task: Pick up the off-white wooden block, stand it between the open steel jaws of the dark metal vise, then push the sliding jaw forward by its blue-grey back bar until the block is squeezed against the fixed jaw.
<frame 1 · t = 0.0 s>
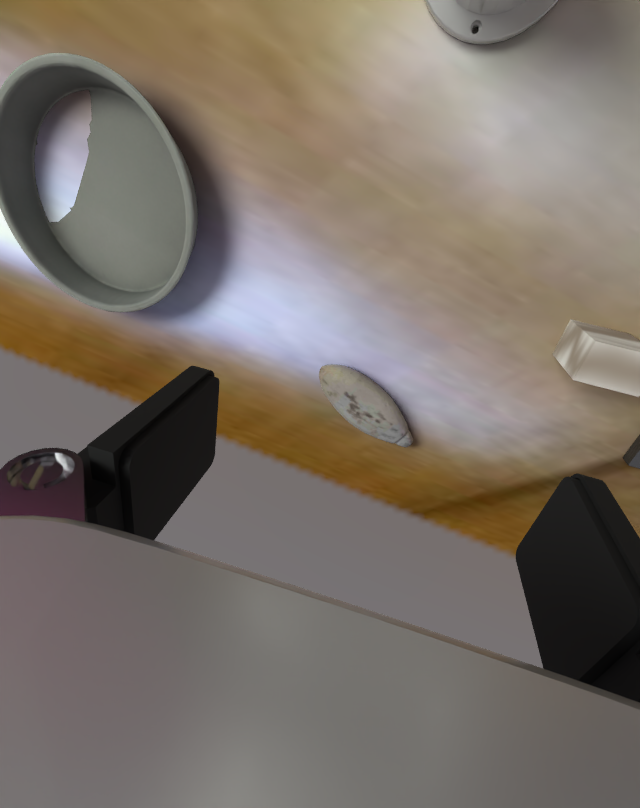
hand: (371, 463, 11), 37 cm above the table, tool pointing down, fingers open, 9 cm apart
decorative stone: (367, 400, 52), on the table
cake pan: (116, 199, 47), on the table
block: (589, 344, 42), on the table
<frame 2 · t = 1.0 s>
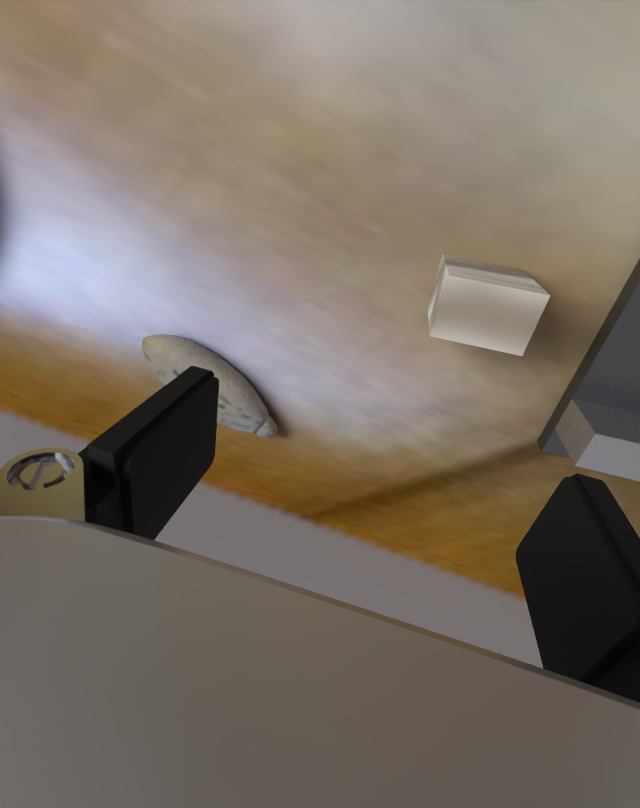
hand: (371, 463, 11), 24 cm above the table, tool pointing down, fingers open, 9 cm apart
decorative stone: (219, 380, 40), on the table
block: (473, 288, 31), on the table
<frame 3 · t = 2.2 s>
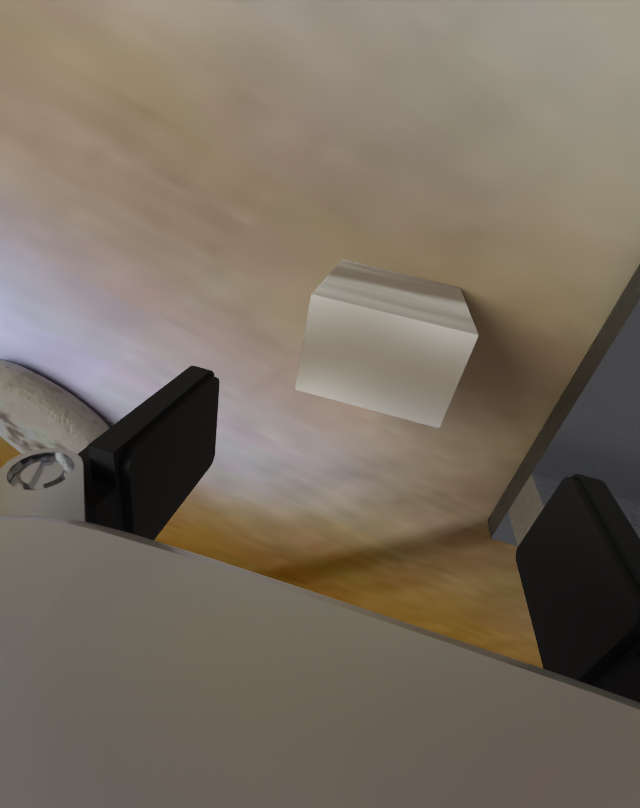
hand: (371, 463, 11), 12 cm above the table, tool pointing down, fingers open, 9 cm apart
decorative stone: (73, 417, 30), on the table
block: (389, 311, 21), on the table
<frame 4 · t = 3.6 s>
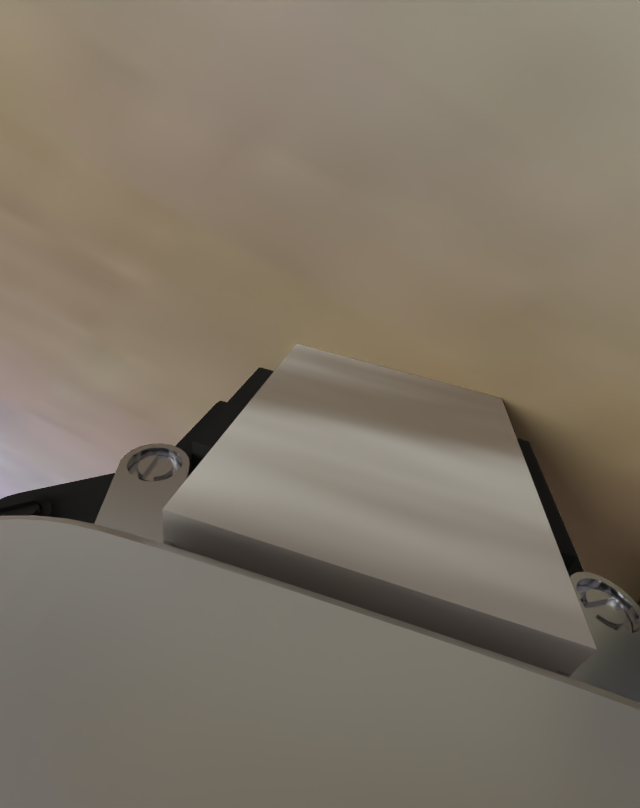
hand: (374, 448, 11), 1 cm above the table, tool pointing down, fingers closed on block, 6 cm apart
block: (378, 427, 12), on the table, touching gripper
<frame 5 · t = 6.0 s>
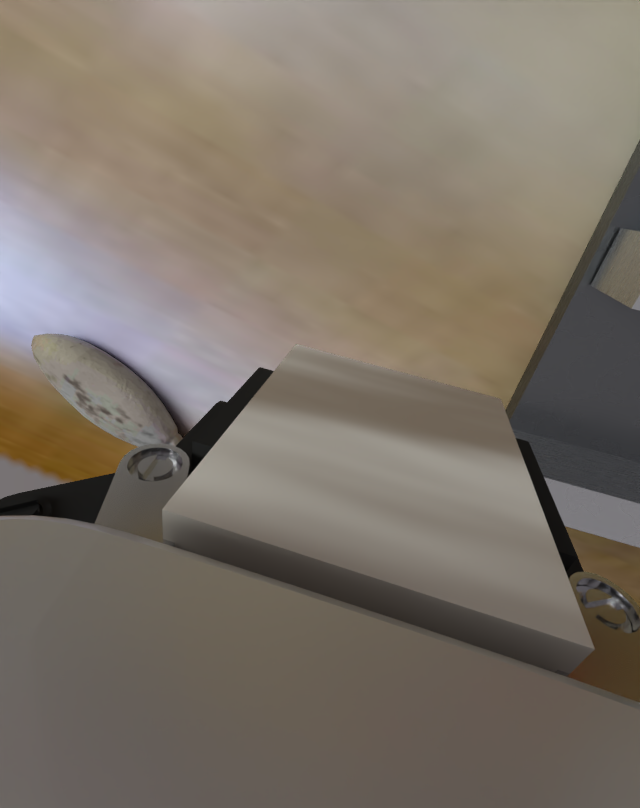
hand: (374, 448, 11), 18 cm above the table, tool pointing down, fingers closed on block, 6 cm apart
decorative stone: (126, 389, 36), on the table
block: (377, 427, 12), point 16 cm above the table, touching gripper
when the fingers open (3 cm above the table, at t = 10.2 s): block stays where it is, resting on vise.
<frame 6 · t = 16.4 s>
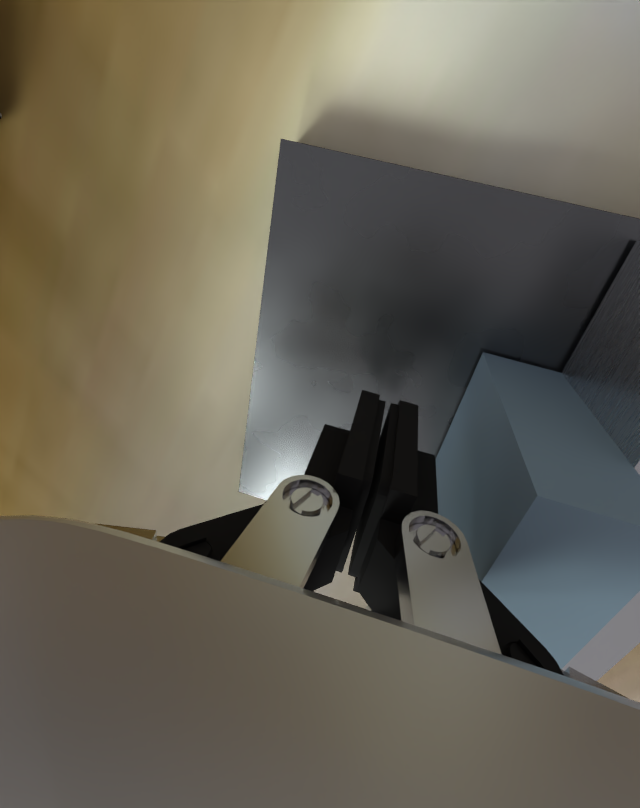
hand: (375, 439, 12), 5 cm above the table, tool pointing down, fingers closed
sliding jaw: (563, 506, 11), point 5 cm above the table, slide at 0.7 cm, touching gripper
vise: (618, 440, 15), on the table
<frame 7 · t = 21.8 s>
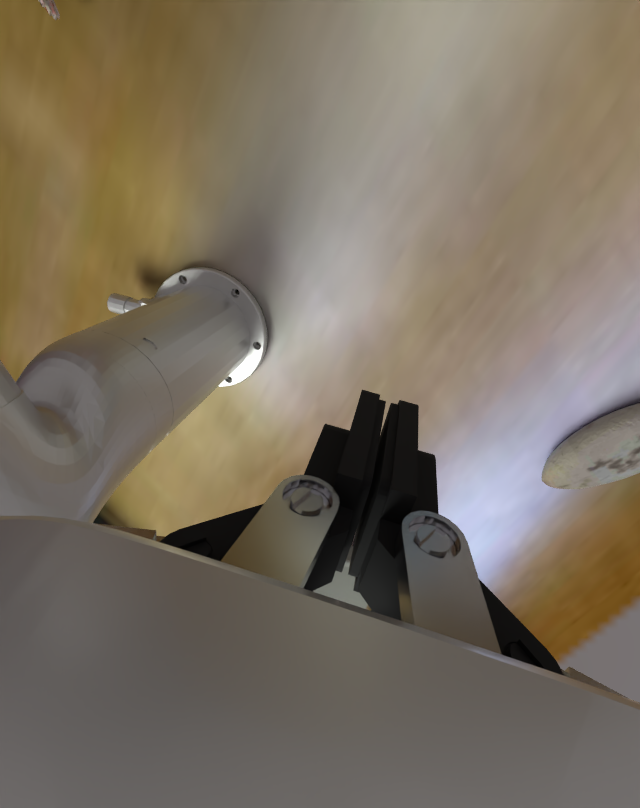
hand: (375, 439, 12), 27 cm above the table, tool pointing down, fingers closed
decorative stone: (615, 433, 38), on the table
cake pan: (362, 596, 57), on the table
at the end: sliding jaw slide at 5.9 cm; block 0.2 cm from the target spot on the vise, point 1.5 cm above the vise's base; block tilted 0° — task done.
